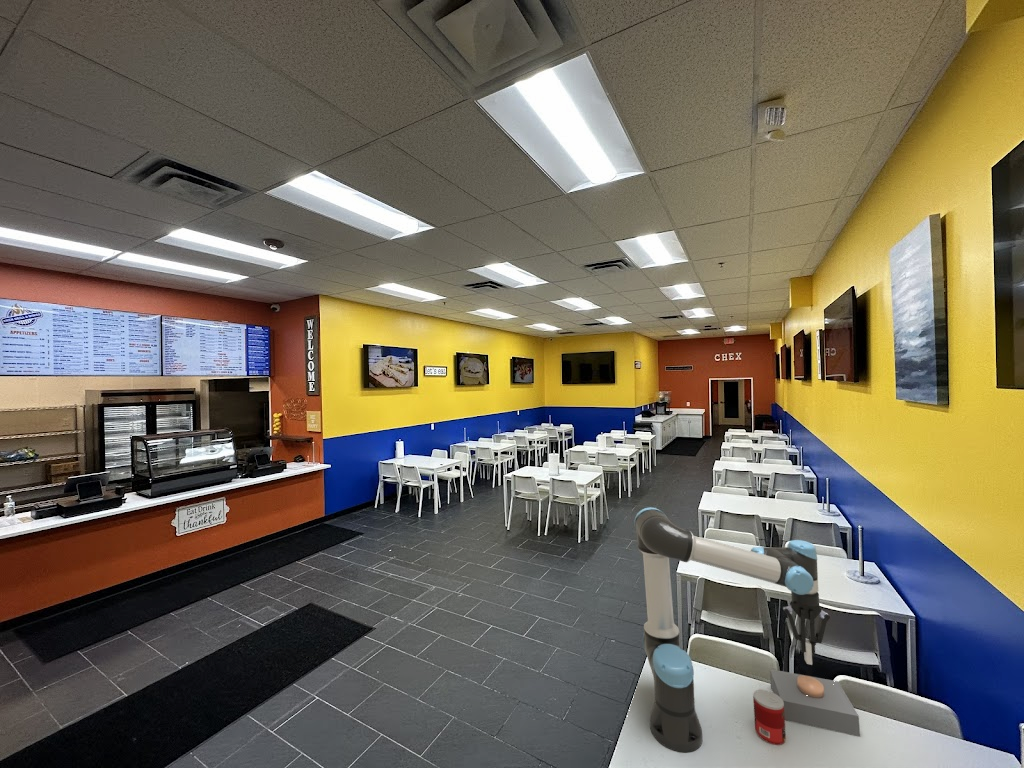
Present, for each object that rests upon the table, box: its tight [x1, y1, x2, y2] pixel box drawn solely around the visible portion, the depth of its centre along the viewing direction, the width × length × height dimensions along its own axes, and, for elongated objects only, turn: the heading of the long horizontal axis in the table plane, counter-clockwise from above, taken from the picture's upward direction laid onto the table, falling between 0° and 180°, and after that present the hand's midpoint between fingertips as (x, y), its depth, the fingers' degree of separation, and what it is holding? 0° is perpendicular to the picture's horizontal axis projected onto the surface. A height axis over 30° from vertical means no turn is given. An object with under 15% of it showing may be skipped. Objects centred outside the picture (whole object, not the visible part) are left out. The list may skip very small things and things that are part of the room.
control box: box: [769, 668, 861, 737], centre depth 133 cm, size 20×16×6 cm
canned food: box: [752, 689, 787, 746], centre depth 124 cm, size 8×8×11 cm
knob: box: [797, 674, 824, 698], centre depth 134 cm, size 7×7×8 cm
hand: (808, 661), depth 134 cm, fingers closed
